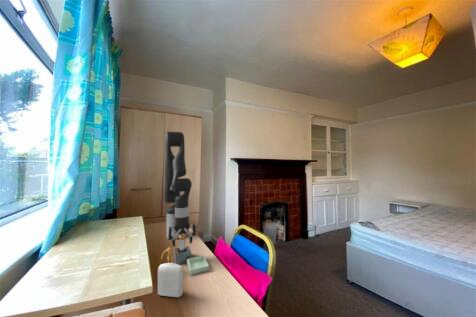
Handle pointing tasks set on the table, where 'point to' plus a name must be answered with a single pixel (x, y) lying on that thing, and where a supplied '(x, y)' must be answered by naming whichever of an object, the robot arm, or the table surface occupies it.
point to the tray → (197, 265)
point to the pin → (182, 242)
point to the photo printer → (170, 280)
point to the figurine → (169, 253)
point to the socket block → (182, 255)
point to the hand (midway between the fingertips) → (182, 244)
